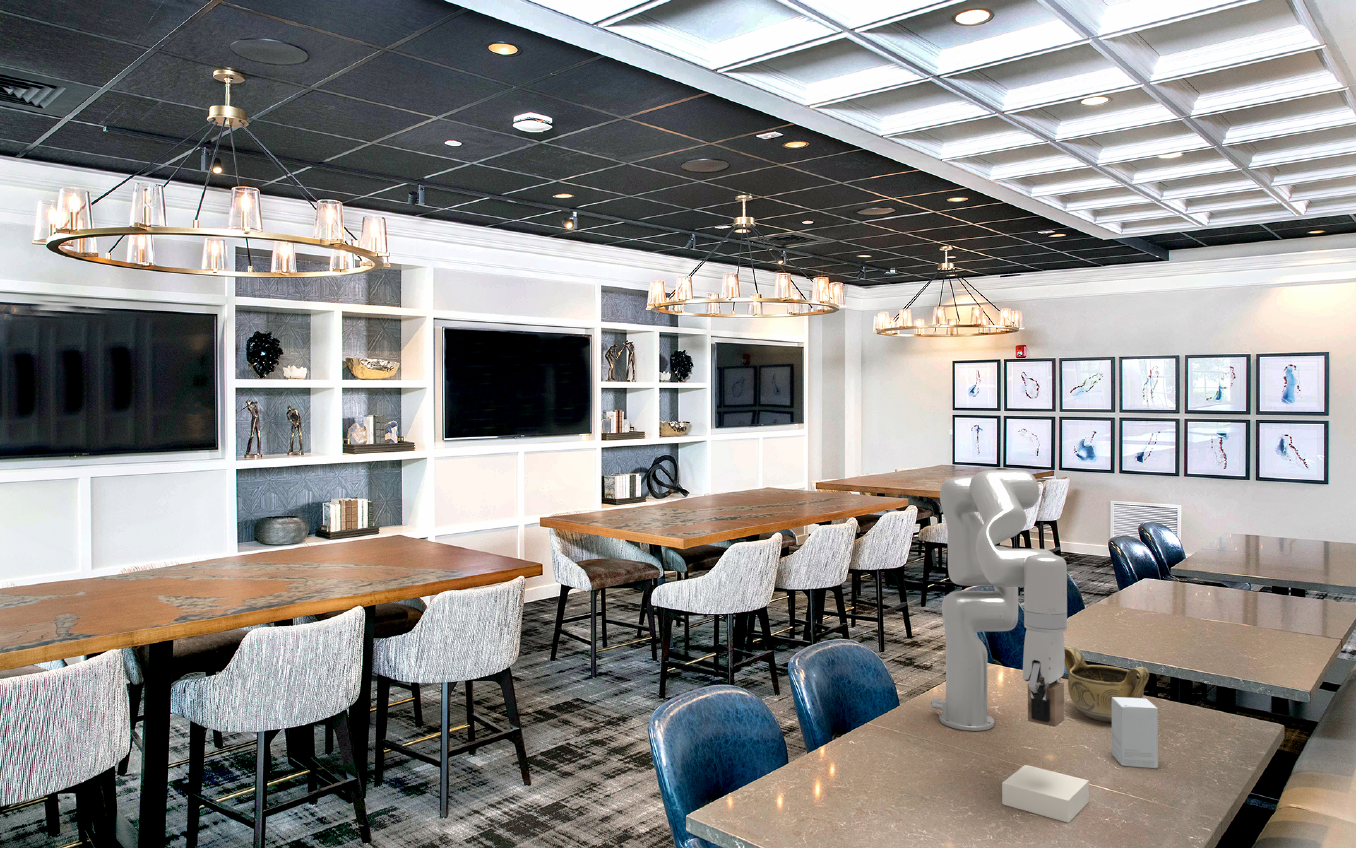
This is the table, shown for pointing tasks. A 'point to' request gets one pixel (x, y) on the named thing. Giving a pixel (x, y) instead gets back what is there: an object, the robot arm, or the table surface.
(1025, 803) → the base
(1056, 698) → the walnut block
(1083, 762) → the table surface
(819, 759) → the table surface
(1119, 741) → the supplement box
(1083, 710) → the ceramic bowl
